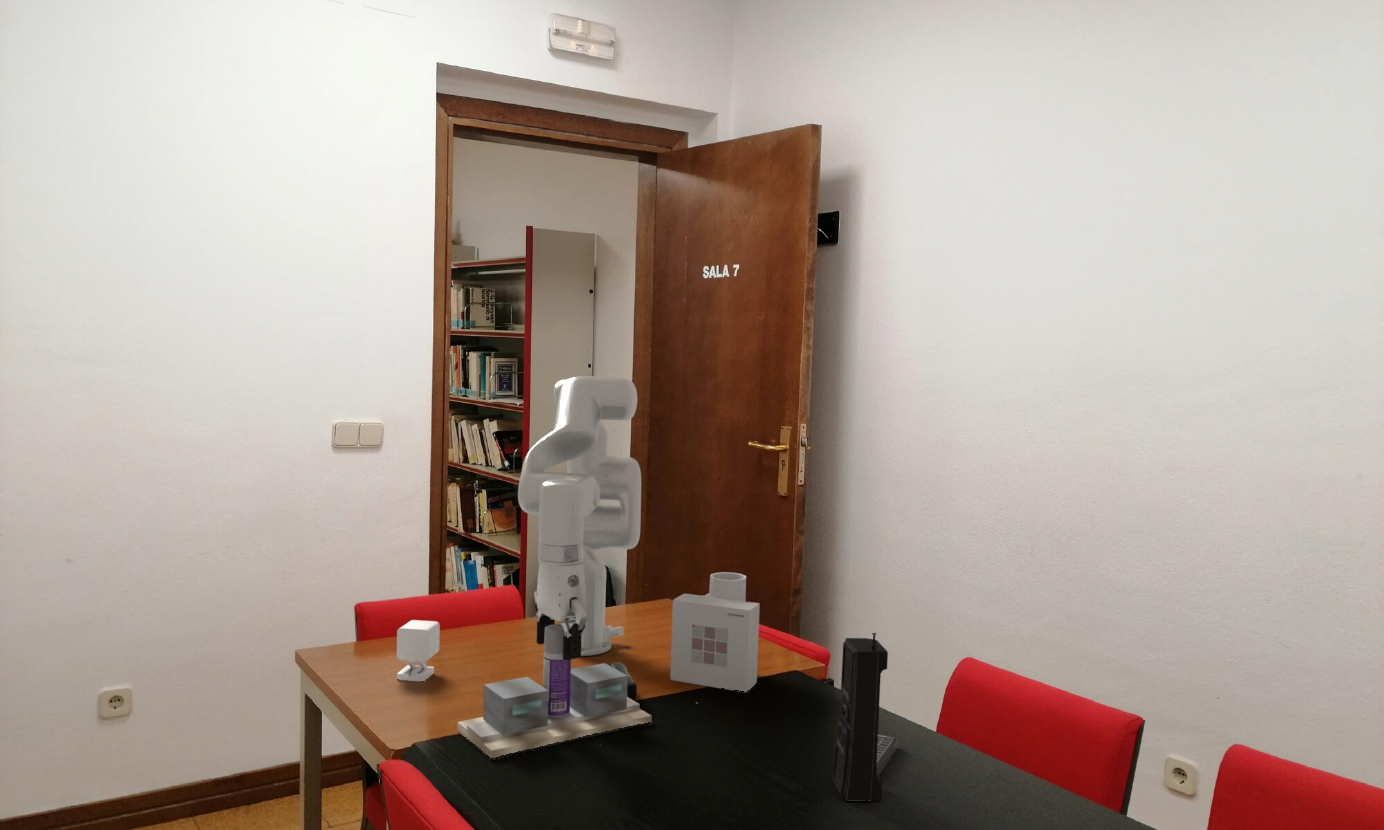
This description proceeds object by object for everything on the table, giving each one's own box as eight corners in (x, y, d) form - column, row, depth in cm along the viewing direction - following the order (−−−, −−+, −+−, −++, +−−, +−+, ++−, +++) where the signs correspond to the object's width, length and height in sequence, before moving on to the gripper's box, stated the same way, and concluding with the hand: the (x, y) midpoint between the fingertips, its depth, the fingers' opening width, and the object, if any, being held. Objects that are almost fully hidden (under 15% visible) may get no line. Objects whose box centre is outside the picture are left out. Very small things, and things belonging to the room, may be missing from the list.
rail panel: (610, 699, 183) (612, 655, 182) (651, 723, 171) (652, 677, 171) (457, 730, 165) (458, 682, 165) (491, 759, 154) (492, 708, 154)
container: (574, 710, 170) (576, 625, 169) (562, 719, 166) (564, 632, 165) (550, 707, 171) (551, 622, 171) (537, 716, 167) (539, 629, 166)
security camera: (439, 670, 196) (439, 621, 196) (426, 681, 189) (427, 631, 189) (408, 668, 197) (409, 619, 196) (394, 679, 190) (395, 629, 189)
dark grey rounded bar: (639, 682, 179) (619, 656, 193) (623, 684, 178) (605, 657, 192) (638, 709, 179) (619, 680, 194) (622, 710, 178) (604, 681, 193)
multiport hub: (848, 776, 153) (848, 762, 153) (872, 744, 166) (873, 731, 166) (875, 782, 151) (876, 767, 151) (898, 749, 164) (899, 736, 164)
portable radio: (829, 779, 151) (836, 620, 149) (867, 779, 151) (874, 620, 150) (841, 802, 143) (848, 634, 142) (881, 802, 144) (889, 635, 142)
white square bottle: (669, 680, 195) (672, 581, 194) (703, 655, 212) (706, 564, 211) (746, 693, 189) (750, 591, 188) (775, 666, 206) (778, 572, 205)
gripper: (605, 560, 162) (602, 661, 163) (556, 541, 176) (554, 634, 177) (564, 565, 158) (562, 668, 159) (518, 544, 172) (516, 640, 173)
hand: (558, 650), depth 168 cm, fingers open, 9 cm apart
